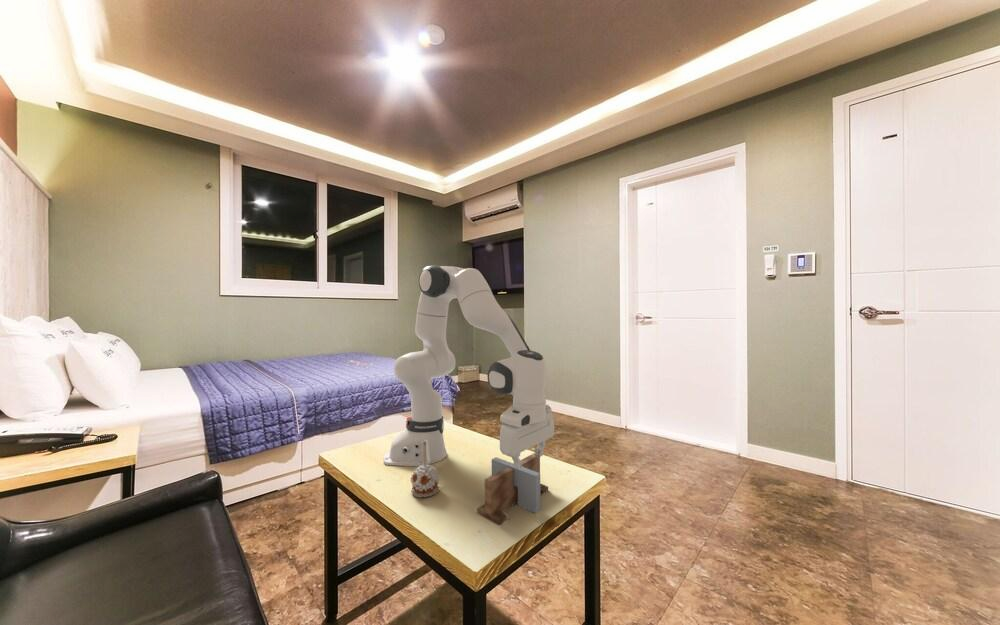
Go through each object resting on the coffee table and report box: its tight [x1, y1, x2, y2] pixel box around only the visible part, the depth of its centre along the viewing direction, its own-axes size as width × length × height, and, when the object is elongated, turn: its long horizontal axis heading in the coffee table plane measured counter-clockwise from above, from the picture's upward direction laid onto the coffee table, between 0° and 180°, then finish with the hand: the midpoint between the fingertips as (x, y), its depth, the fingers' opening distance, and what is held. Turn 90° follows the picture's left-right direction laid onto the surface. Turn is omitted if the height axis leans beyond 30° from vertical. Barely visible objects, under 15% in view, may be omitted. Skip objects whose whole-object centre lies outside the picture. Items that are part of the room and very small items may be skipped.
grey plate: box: [491, 457, 541, 514], centre depth 100 cm, size 16×2×10 cm, turn 49°
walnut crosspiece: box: [476, 452, 549, 526], centre depth 100 cm, size 22×8×10 cm, turn 139°
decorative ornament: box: [410, 442, 440, 498], centre depth 106 cm, size 8×8×15 cm
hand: (528, 461), depth 97 cm, fingers open, 8 cm apart
